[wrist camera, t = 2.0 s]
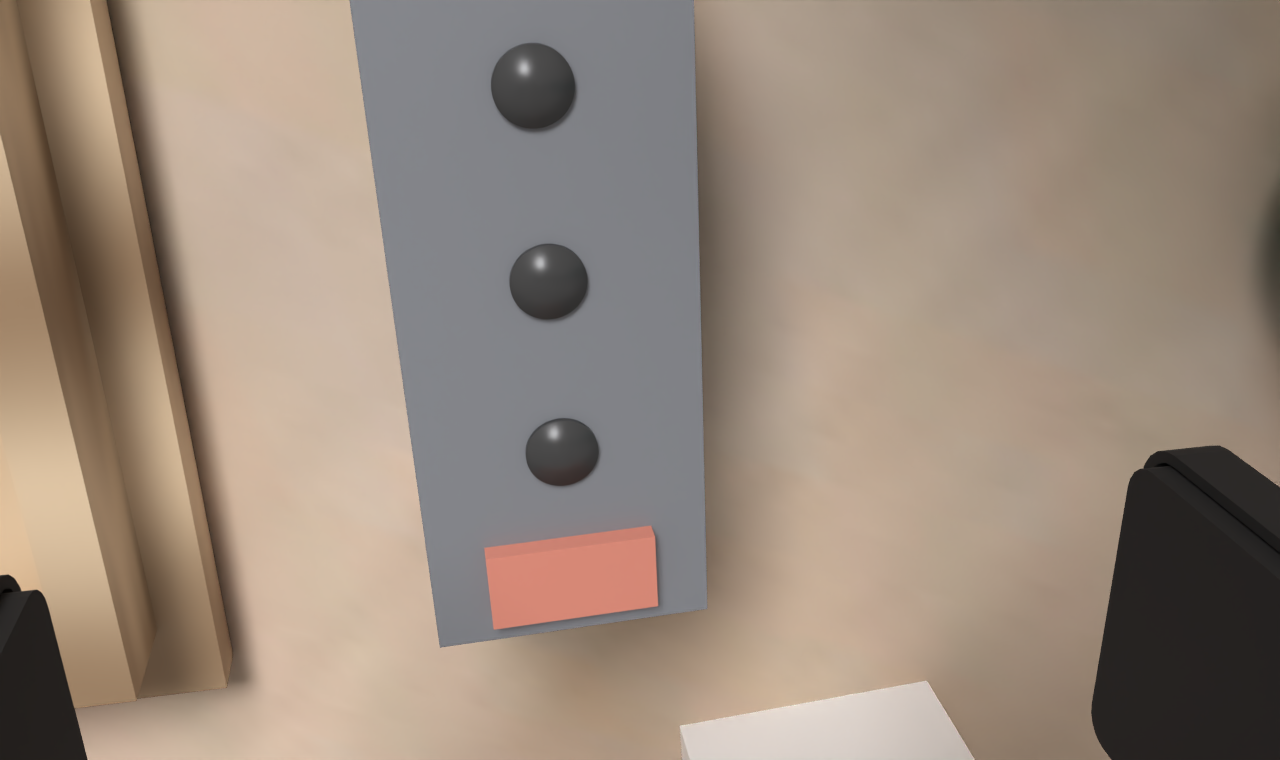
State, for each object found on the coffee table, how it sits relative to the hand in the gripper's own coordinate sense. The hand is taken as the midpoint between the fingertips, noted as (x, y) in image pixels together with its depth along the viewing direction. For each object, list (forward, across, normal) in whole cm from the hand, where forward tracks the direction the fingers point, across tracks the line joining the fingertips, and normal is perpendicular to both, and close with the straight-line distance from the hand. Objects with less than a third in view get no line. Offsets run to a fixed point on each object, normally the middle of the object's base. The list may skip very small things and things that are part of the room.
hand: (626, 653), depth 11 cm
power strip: (+12, 0, -1) cm, 12 cm away
